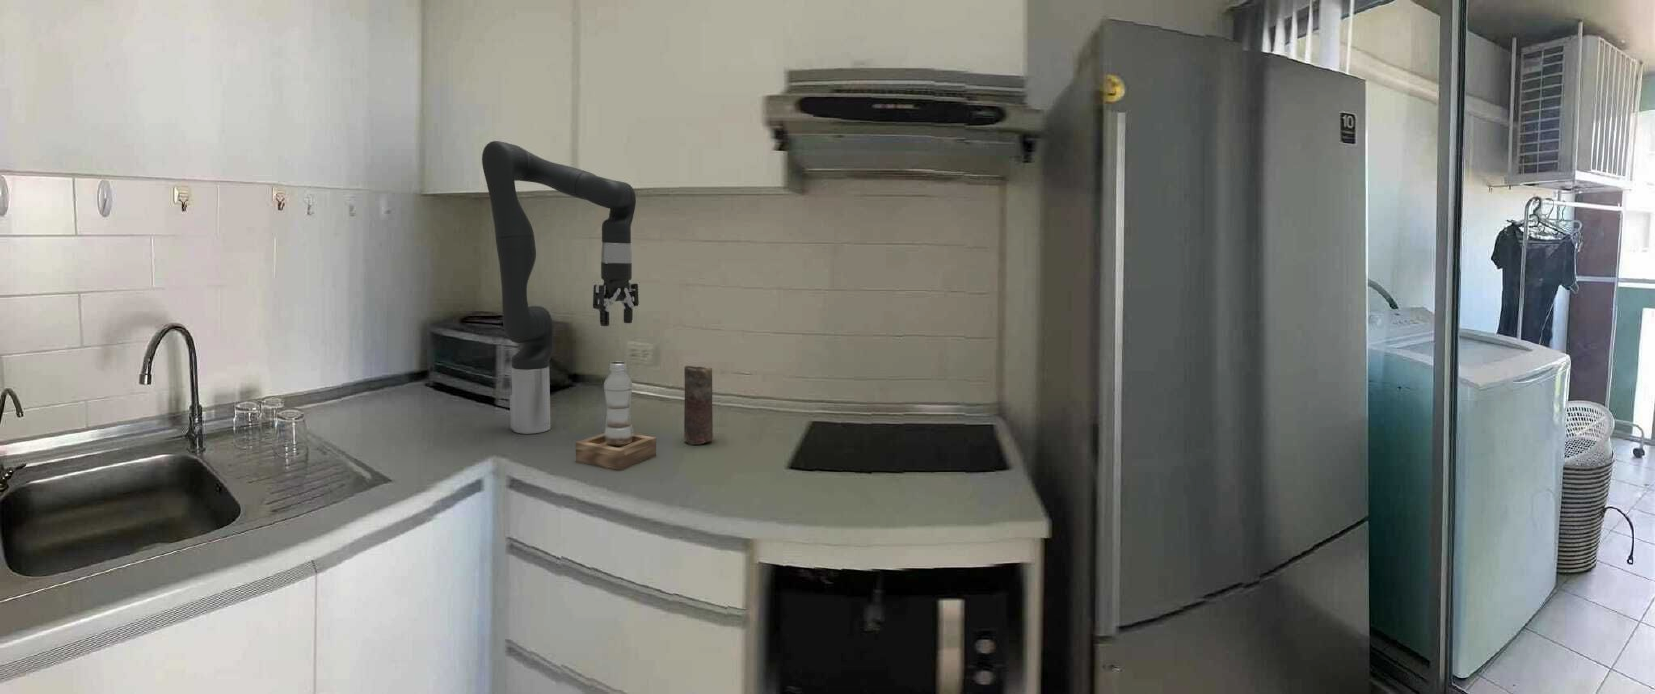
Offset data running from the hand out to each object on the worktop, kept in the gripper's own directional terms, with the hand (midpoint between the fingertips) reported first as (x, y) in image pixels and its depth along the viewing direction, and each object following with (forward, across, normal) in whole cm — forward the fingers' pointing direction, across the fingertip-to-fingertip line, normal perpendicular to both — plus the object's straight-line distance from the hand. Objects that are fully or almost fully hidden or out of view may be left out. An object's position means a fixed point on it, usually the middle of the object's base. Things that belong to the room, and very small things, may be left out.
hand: (616, 324), depth 180 cm
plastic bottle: (+27, +13, +12) cm, 32 cm away
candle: (+30, -8, +20) cm, 37 cm away
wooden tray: (+30, +14, +12) cm, 35 cm away
